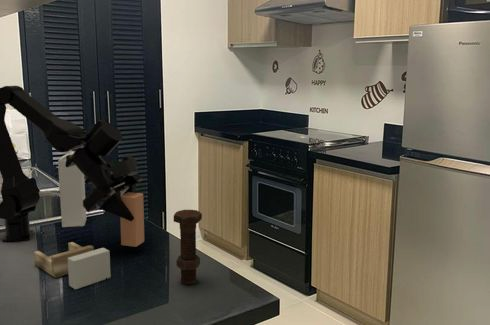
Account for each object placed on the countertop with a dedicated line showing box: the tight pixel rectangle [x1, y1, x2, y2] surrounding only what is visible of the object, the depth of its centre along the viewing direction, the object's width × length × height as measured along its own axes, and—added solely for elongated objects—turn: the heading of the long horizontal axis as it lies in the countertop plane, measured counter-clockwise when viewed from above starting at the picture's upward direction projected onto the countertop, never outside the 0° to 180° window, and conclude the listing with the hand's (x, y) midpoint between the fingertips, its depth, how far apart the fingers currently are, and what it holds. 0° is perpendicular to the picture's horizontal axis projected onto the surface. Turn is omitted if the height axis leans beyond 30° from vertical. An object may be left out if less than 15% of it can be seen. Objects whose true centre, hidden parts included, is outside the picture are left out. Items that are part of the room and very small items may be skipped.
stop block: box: [67, 247, 111, 290], centre depth 98 cm, size 2×8×6 cm, turn 137°
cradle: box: [33, 241, 95, 279], centre depth 106 cm, size 10×9×4 cm
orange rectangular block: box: [119, 192, 145, 248], centre depth 114 cm, size 4×4×12 cm
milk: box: [57, 150, 87, 228], centre depth 134 cm, size 6×6×22 cm
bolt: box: [173, 209, 203, 285], centre depth 98 cm, size 6×5×15 cm
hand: (137, 217), depth 113 cm, fingers closed on orange rectangular block, 4 cm apart
